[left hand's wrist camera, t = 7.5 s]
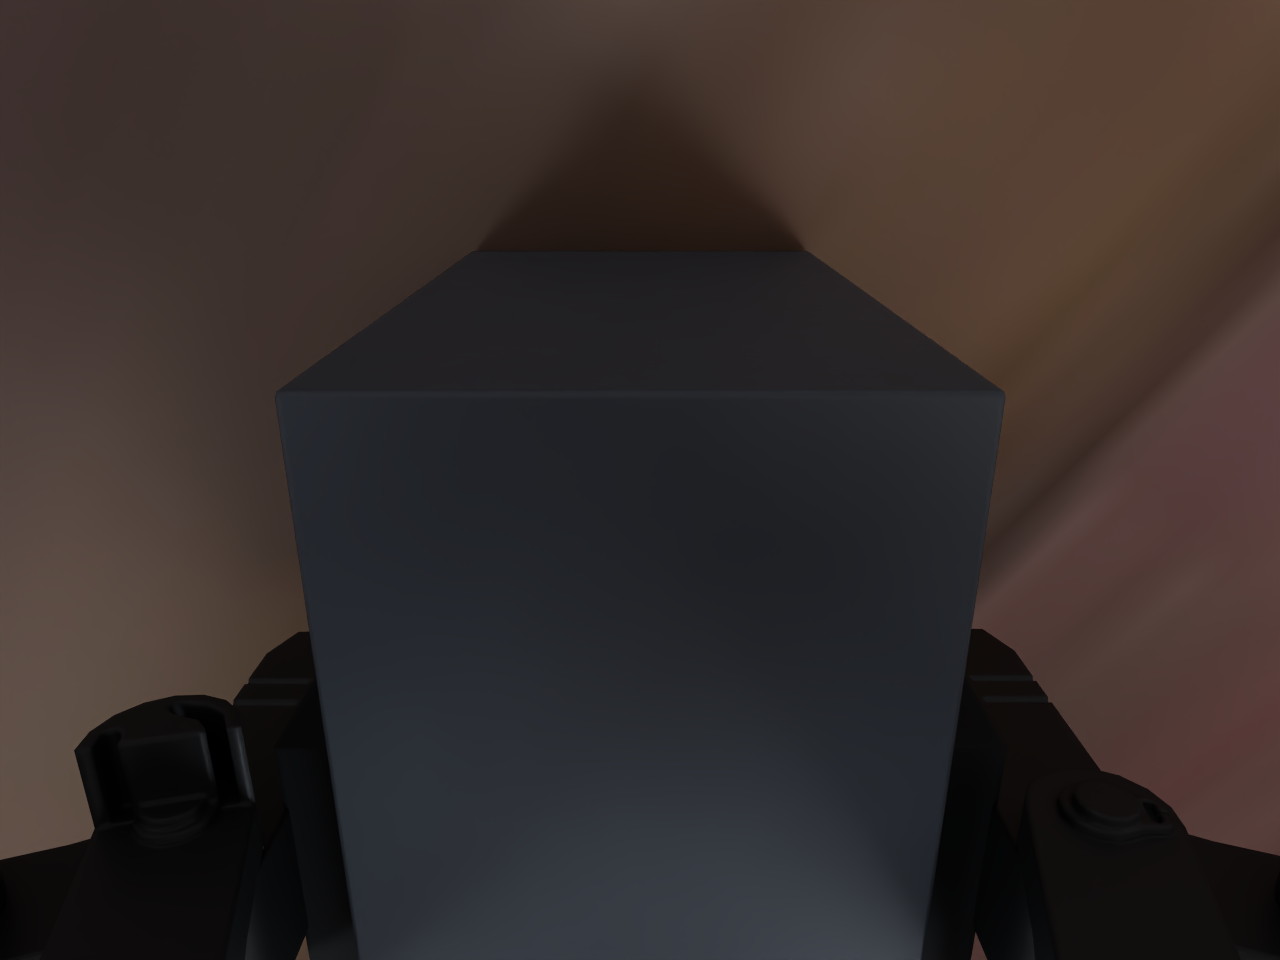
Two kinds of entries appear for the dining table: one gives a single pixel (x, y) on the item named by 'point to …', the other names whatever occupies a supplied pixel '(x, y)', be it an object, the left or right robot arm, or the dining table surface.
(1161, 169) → the dining table surface
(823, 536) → the post
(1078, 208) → the dining table surface
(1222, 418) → the dining table surface
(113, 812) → the left robot arm
